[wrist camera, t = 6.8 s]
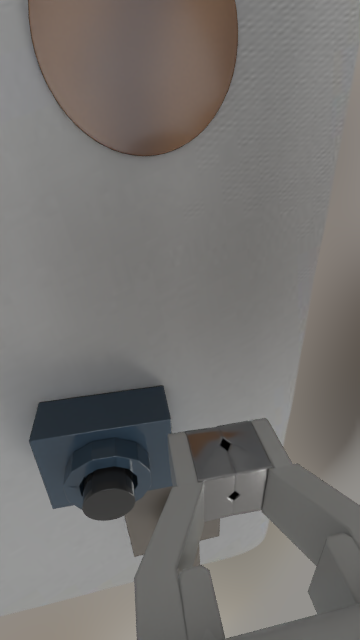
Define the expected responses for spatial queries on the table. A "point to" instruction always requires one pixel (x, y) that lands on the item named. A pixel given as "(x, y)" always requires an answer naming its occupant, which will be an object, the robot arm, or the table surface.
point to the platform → (147, 517)
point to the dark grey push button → (108, 493)
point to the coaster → (137, 66)
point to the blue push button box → (102, 441)
